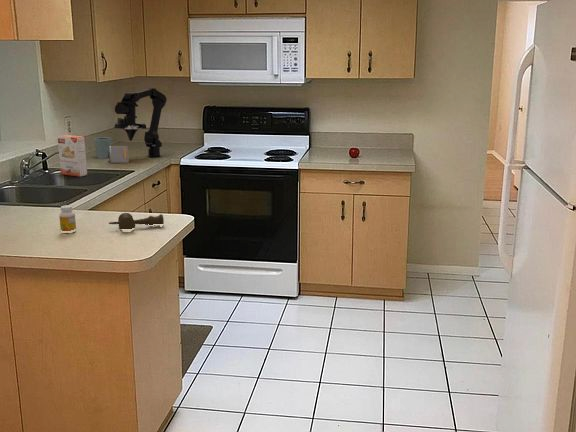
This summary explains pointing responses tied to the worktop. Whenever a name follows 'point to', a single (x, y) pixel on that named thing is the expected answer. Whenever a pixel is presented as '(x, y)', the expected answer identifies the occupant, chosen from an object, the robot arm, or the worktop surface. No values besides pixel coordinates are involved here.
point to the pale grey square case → (119, 154)
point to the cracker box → (72, 155)
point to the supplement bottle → (67, 218)
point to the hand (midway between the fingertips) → (130, 140)
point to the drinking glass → (102, 147)
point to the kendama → (136, 221)
